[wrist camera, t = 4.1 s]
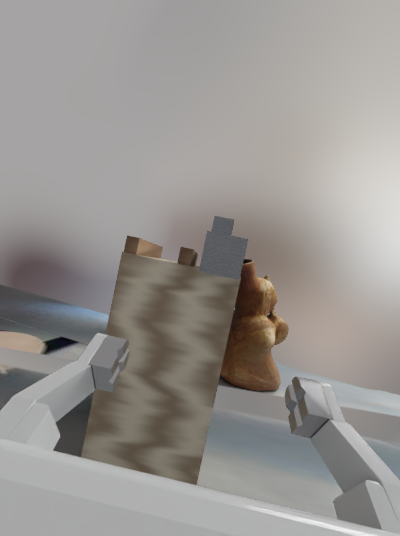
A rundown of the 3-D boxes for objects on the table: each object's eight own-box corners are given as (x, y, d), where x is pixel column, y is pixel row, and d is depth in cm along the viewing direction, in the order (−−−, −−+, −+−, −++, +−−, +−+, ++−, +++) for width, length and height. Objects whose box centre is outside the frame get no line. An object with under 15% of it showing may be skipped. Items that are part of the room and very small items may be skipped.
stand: (199, 413, 39) (231, 261, 39) (193, 495, 25) (244, 259, 25) (124, 395, 40) (155, 245, 39) (78, 466, 26) (125, 235, 25)
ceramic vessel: (292, 395, 52) (319, 273, 51) (212, 402, 43) (244, 254, 43) (251, 362, 66) (272, 267, 66) (186, 362, 58) (209, 252, 57)
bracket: (221, 271, 36) (232, 223, 35) (239, 279, 16) (262, 170, 15) (204, 267, 36) (214, 220, 36) (198, 271, 16) (221, 162, 16)
